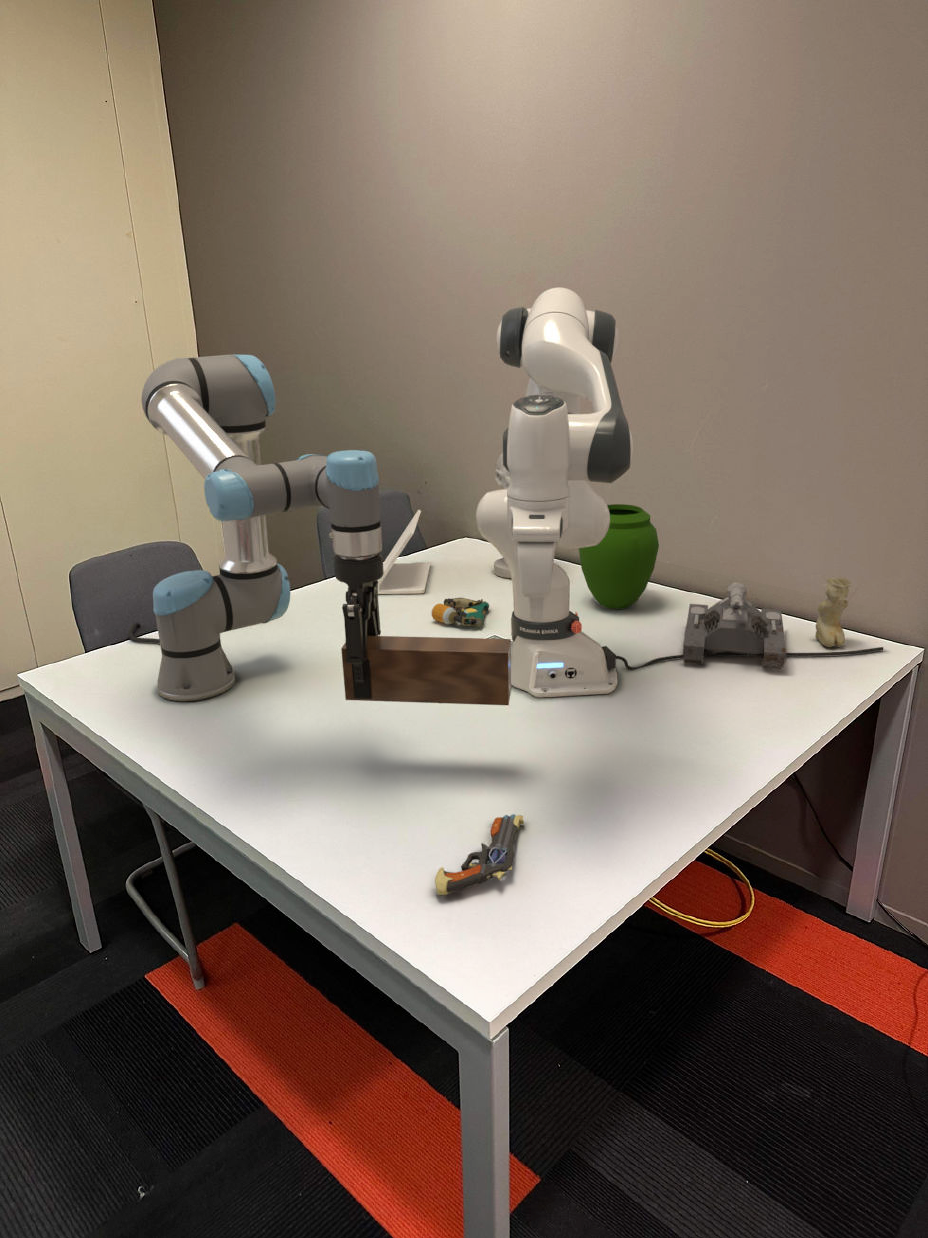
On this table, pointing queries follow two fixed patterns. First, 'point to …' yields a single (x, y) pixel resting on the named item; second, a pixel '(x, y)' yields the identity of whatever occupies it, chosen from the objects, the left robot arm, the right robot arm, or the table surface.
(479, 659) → the bar
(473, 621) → the spray gun
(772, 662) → the toy
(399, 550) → the tablet stand
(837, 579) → the sculpture
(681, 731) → the table surface
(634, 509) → the vase
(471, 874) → the toy gun
